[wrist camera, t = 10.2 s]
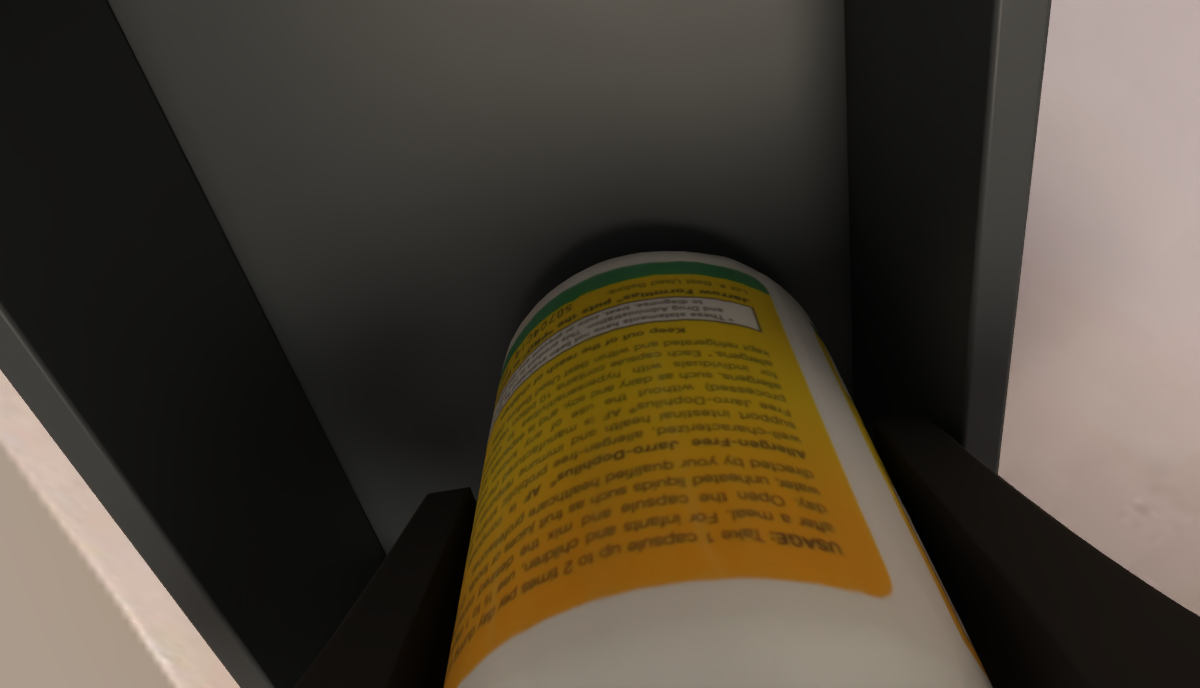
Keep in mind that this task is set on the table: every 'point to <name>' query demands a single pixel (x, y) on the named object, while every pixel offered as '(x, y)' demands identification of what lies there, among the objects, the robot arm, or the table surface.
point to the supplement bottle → (691, 502)
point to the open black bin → (463, 241)
